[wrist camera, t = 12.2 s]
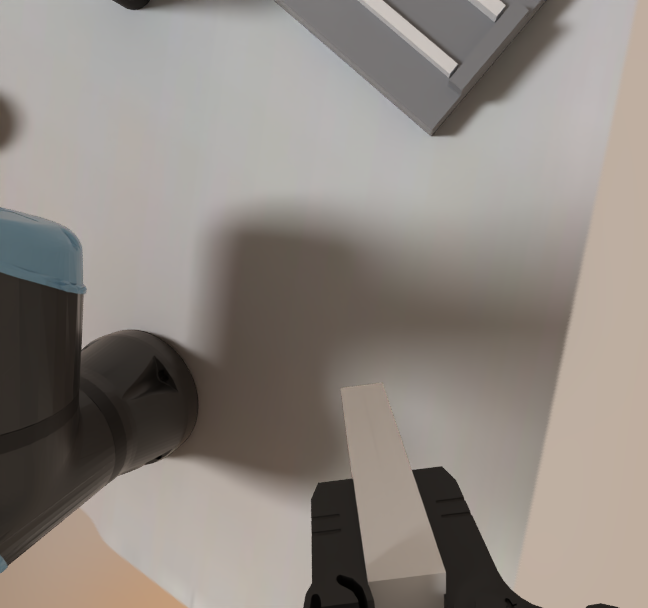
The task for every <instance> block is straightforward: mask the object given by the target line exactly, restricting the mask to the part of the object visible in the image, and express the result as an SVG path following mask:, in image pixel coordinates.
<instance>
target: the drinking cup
mask: <svg viewBox="0 0 648 608" xmlns="http://www.w3.org/2000/svg"><path fill="white" fill-rule="evenodd" d="M113 1H115V2H116V3H118V4H120V5H122V6H123V7H125V8H127V9H132V10H135V9H139V8H141V7H143V6H145V5H146V4H147V3H148V2H149V0H113Z"/></svg>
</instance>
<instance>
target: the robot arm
mask: <svg viewBox="0 0 648 608" xmlns="http://www.w3.org/2000/svg"><path fill="white" fill-rule="evenodd" d="M86 290H87V289H86V287H85V285H84V284H83V255H82V246H81V243H80V241H79V239H78V238H77V237H76V235H75V234H74V233H73V232H72V231H71V230H69V229H68V228H66V227H65V226H63V225H61V224H59V223H56V222H53V221H50V220H47V219H44V218H41V217H37V216H33V215H29V214H26V213H22V212H18V211H14V210H10V209H6V208H1V207H0V573H2V572H3V571H4V570H5V569H6V568H7V567H8V565H9V564H11V562H13V561H14V560H15V559H17V558H18V557H19V556H20V555H21V554H23V553H24V552H25V551H26V550H27V549H29V548H30V547H31V546H32V545H34V544H35V543H36V542H37V541H38V540H40V539H41V538H42V537H43V536H45V534H47V533H48V532H49V531H51V530H52V529H53V528H54V527H56V526H57V525H58V524H59V523H60V522H62V521H63V520H64V519H65V518H66V517H68V516H69V515H70V514H71V513H72V512H74V511H75V510H76V509H77V508H79V507H80V506H81V505H82V504H84V503H85V502H86V501H87V500H88V499H90V498H91V497H92V496H93V495H94V494H96V493H97V492H98V491H99V490H101V489H102V488H103V487H104V486H105V485H107V484H108V483H109V482H111V481H112V480H113V479H114V478H116V477H117V476H119V475H122V474H125V473H128V472H130V471H133V470H135V469H138V468H140V467H142V466H143V465H147V464H151V463H154V462H157V461H159V460H162V459H163V458H165V457H167V456H168V455H170V454H171V453H172V452H173V451H174V450H176V449H177V448H178V447H179V446H180V445H181V444H182V443H184V442H185V440H186V439H187V438H188V437H189V435H190V434H191V432H192V430H193V428H194V426H195V423H196V419H197V413H198V398H197V392H196V388H195V384H194V381H193V378H192V376H191V374H190V372H189V370H188V368H187V366H186V365H185V363H184V362H183V360H182V359H181V358H180V356H179V355H178V354H177V353H176V352H175V351H174V350H173V349H172V348H171V347H170V346H169V345H168V344H166V343H165V342H163V341H162V340H160V339H159V338H157V337H155V336H153V335H151V334H148V333H145V332H142V331H137V330H122V331H118V332H114V333H111V334H108V335H105V336H102V337H100V338H98V339H96V340H94V341H92V342H90V343H89V344H88V345H86V346H85V347H84V348H83V349H82V350H81V345H82V320H83V296H84V294H85V293H86ZM341 397H342V405H343V413H344V421H345V429H346V437H347V445H348V453H349V460H350V467H351V474H352V479H346V480H338V481H330V482H322V483H318V485H317V487H316V489H315V492H314V494H313V496H312V499H311V518H312V521H311V524H312V584H311V586H310V588H309V590H308V591H307V593H306V596H305V602H304V607H303V608H542V607H539V606H536V605H533V604H531V603H529V602H528V601H526V600H524V599H522V598H521V597H520V596H518V595H517V594H516V593H515V592H513V591H512V590H511V589H510V588H509V587H508V585H507V584H506V583H505V582H504V581H503V579H502V578H501V576H500V574H499V572H498V571H497V569H496V566H495V564H494V562H493V560H492V558H491V556H490V553H489V551H488V549H487V547H486V545H485V542H484V540H483V538H482V536H481V534H480V532H479V529H478V527H477V525H476V523H475V521H474V519H473V516H472V515H471V513H470V510H469V508H468V506H467V503H466V501H464V497H463V495H462V492H461V490H460V488H459V486H458V484H457V482H456V480H455V479H454V478H453V477H452V476H451V475H450V474H449V473H448V472H447V471H446V470H445V469H444V468H443V467H442V466H441V467H433V468H425V469H417V470H412V469H411V466H410V463H409V460H408V457H407V454H406V451H405V448H404V445H403V442H402V439H401V436H400V433H399V430H398V427H397V424H396V421H395V418H394V415H393V412H392V409H391V406H390V403H389V400H388V397H387V394H386V391H385V388H384V386H383V383H375V384H367V385H359V386H352V387H344V388H341ZM586 608H618V607H615V606H610V605H606V604H601V603H600V604H595V605H589V606H587V607H586Z"/></svg>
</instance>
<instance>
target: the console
mask: <svg viewBox="0 0 648 608" xmlns="http://www.w3.org/2000/svg"><path fill="white" fill-rule="evenodd" d="M274 1H275V2H276V3H278V4H279V5H280V6H281V7H282V8H283V9H285V10H286V11H287V12H288V13H289V14H290V15H291V16H293V17H294V18H295V19H296V20H297V21H298V22H300V23H301V24H302V25H303V26H304V27H305V28H306V29H308V30H309V31H310V32H311V33H312V34H313V35H315V36H316V37H317V38H318V39H319V40H320V41H322V42H323V43H324V44H325V45H326V46H327V47H328V48H330V49H331V50H332V51H333V52H334V53H335V54H337V55H338V56H339V57H340V58H341V59H342V60H343V61H345V62H346V63H347V64H348V65H349V66H350V67H352V68H353V69H354V70H355V71H356V72H357V73H358V74H360V75H361V76H362V77H363V78H364V79H365V80H367V81H368V82H369V83H370V84H371V85H372V86H373V87H375V88H376V89H377V90H378V91H379V92H380V93H382V94H383V95H384V96H385V97H386V98H387V99H389V100H390V101H391V102H392V103H393V104H394V105H395V106H397V107H398V108H399V109H400V110H401V111H402V112H404V113H405V114H406V115H407V116H408V117H409V118H410V119H412V120H413V121H414V122H415V123H416V124H417V125H419V126H420V127H421V128H422V129H423V130H424V131H425V132H427V133H428V134H429V135H430V136H432V135H433V133H434V132H435V131H436V130H437V129H438V128H439V126H440V125H441V124H442V123H443V122H444V120H445V119H446V118H447V117H448V116H449V115H450V113H451V112H452V111H453V110H454V109H455V107H456V106H457V105H458V104H459V103H460V102H461V100H462V99H463V98H464V97H465V96H466V95H467V93H468V92H469V91H470V90H471V89H472V87H473V86H474V85H475V84H476V83H477V82H478V80H479V79H480V78H481V77H482V76H483V74H484V73H485V72H486V71H487V70H488V69H489V67H490V66H491V65H492V64H493V63H494V61H495V60H496V59H497V58H498V57H499V56H500V54H501V53H502V52H503V51H504V50H505V48H506V47H507V46H508V45H509V44H510V43H511V41H512V40H513V39H514V38H515V37H516V35H517V34H518V33H519V32H520V31H521V30H522V28H523V27H524V26H525V25H526V24H527V23H528V21H529V20H530V19H531V18H532V17H533V15H534V14H535V13H536V12H537V11H538V10H539V8H540V7H541V6H542V5H543V4H544V2H545V1H546V0H274Z"/></svg>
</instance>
